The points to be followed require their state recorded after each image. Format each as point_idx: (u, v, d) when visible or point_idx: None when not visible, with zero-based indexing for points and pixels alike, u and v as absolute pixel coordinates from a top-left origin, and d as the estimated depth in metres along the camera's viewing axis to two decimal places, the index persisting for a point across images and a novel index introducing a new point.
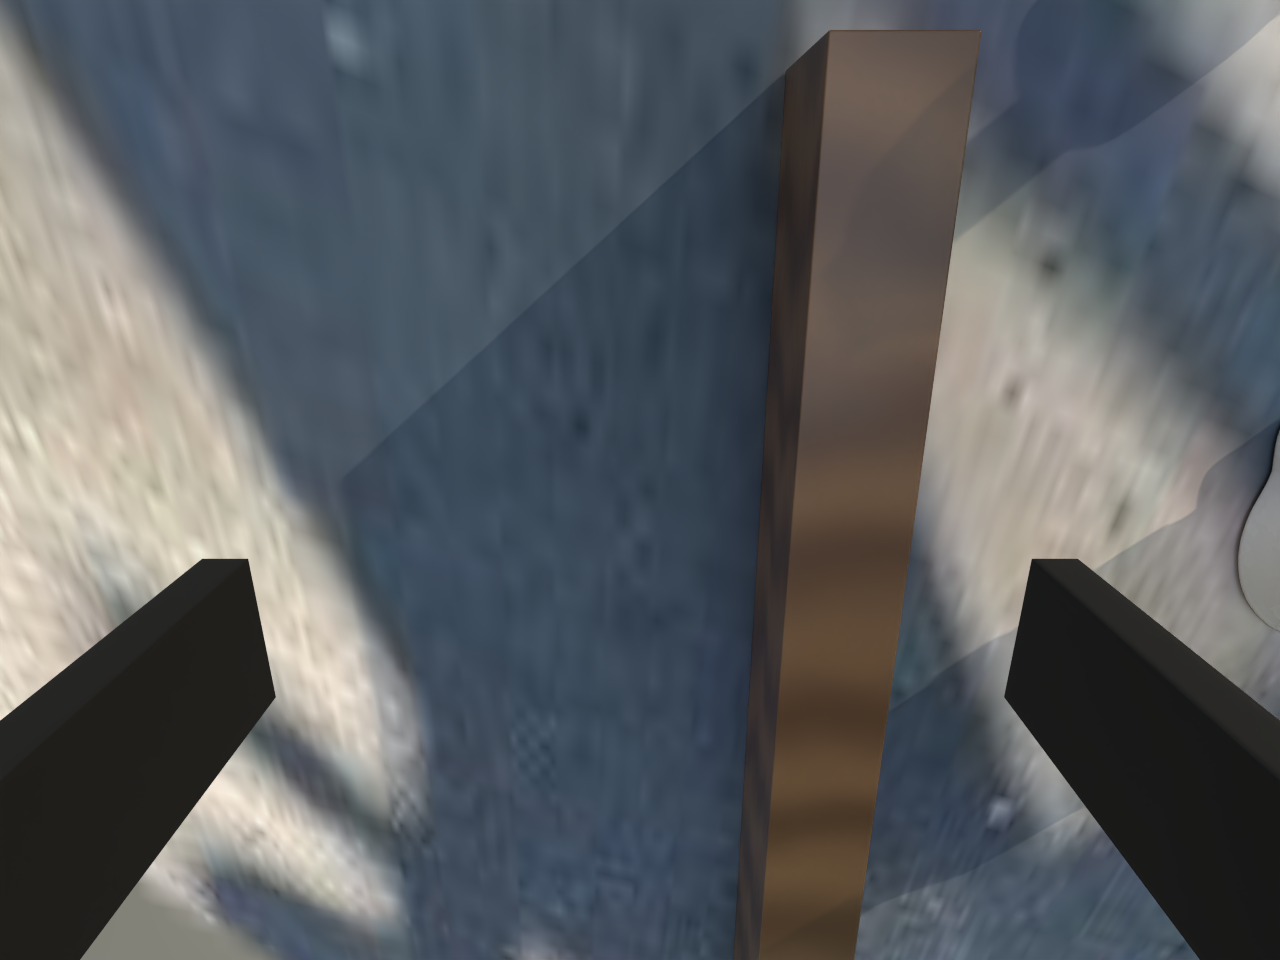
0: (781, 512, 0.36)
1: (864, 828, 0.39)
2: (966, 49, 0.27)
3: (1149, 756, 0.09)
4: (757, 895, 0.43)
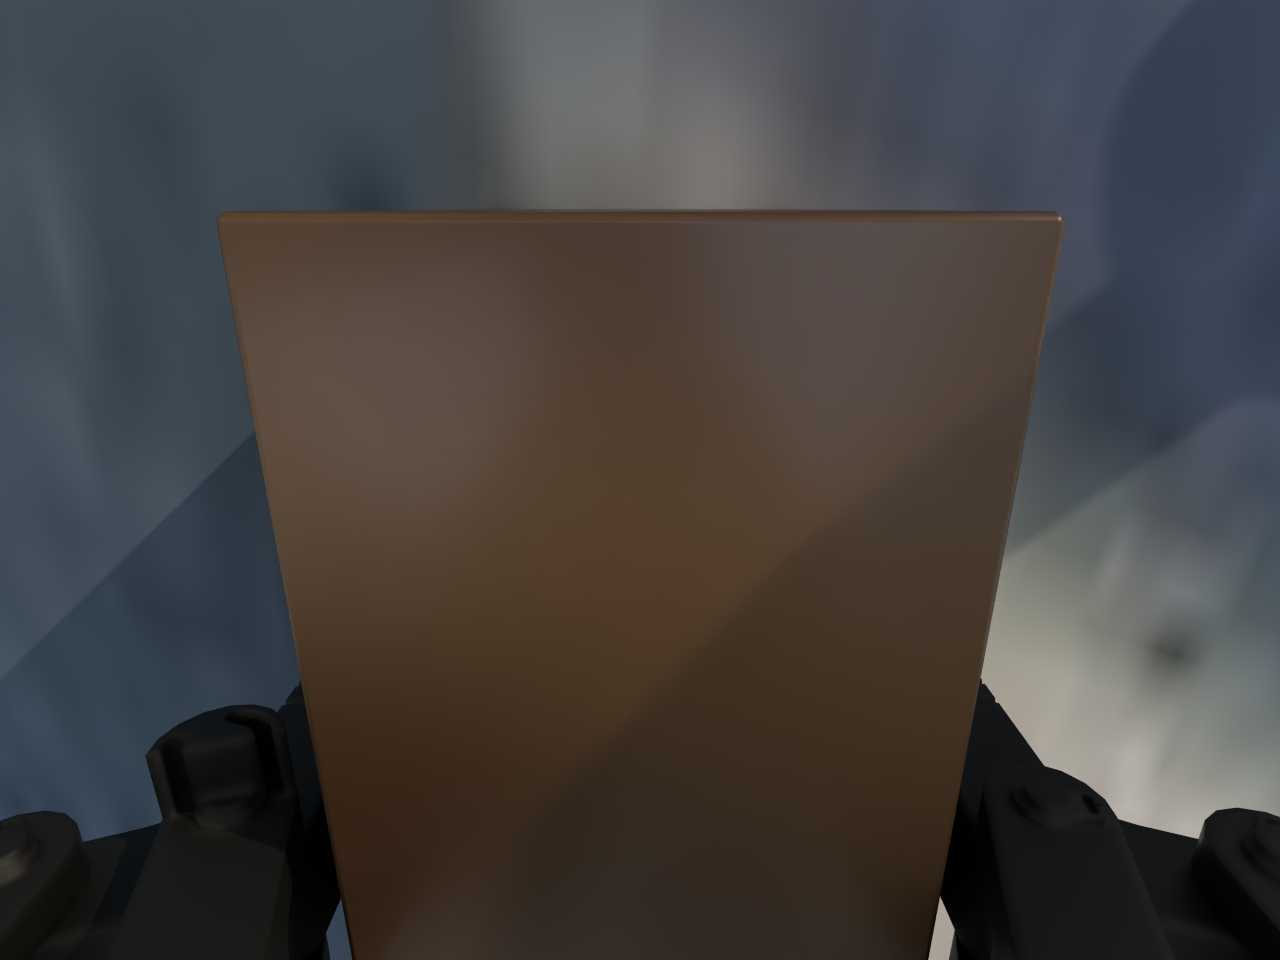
0: None
1: None
2: (982, 311, 0.05)
3: None
4: None
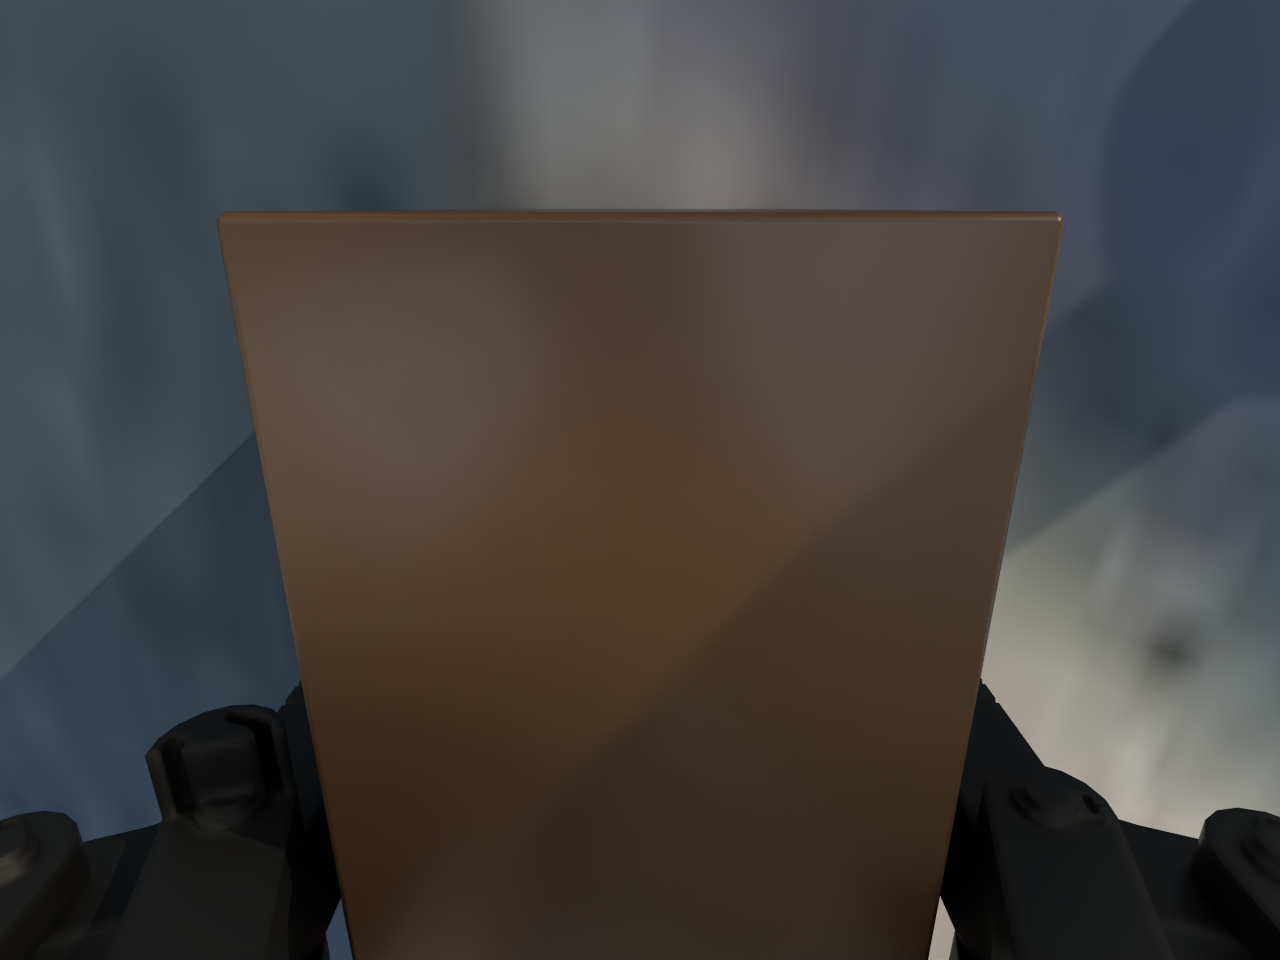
0: None
1: None
2: (983, 311, 0.05)
3: None
4: None
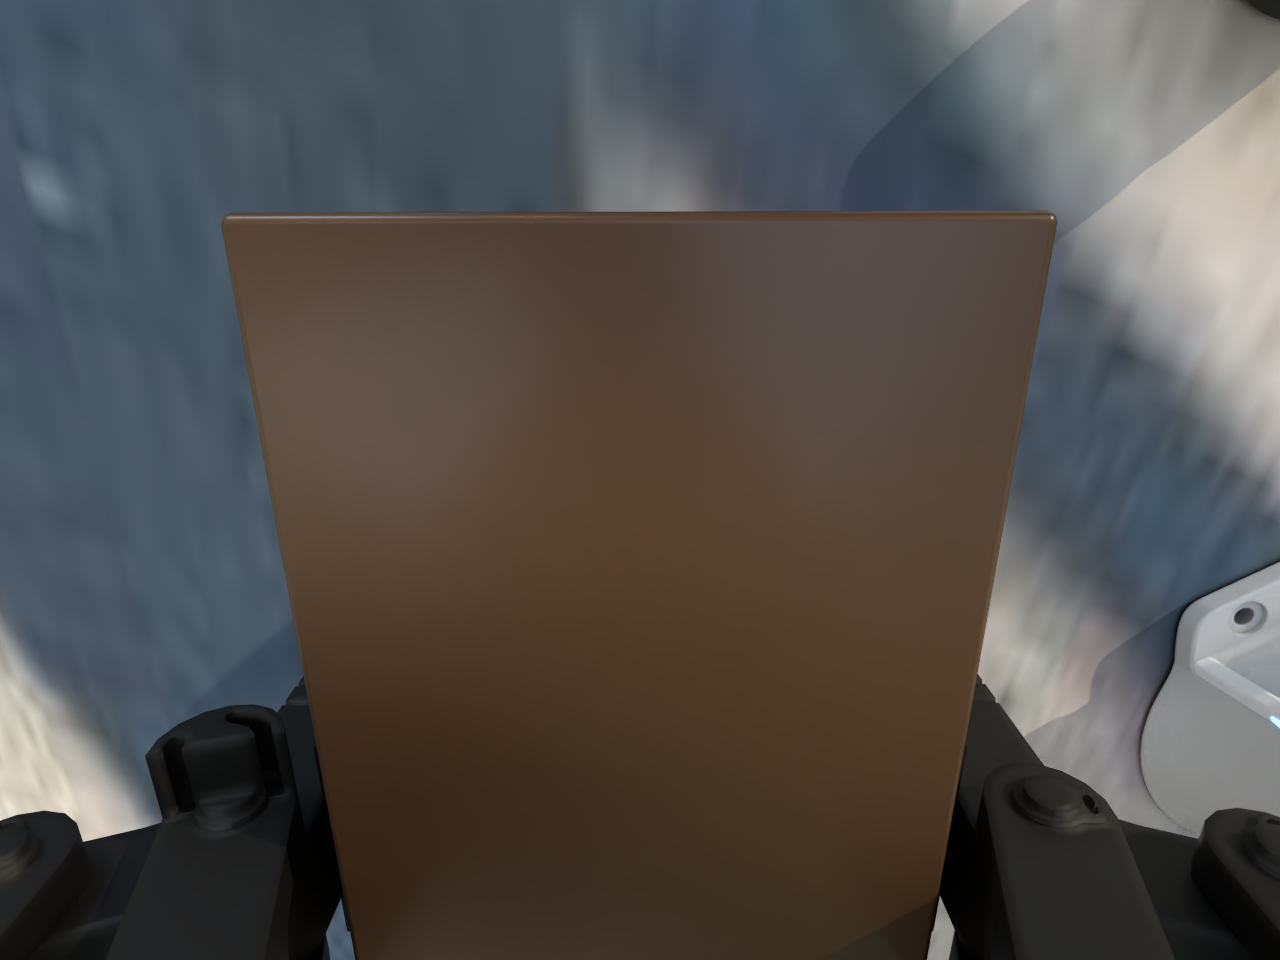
0: None
1: None
2: (977, 309, 0.05)
3: None
4: None
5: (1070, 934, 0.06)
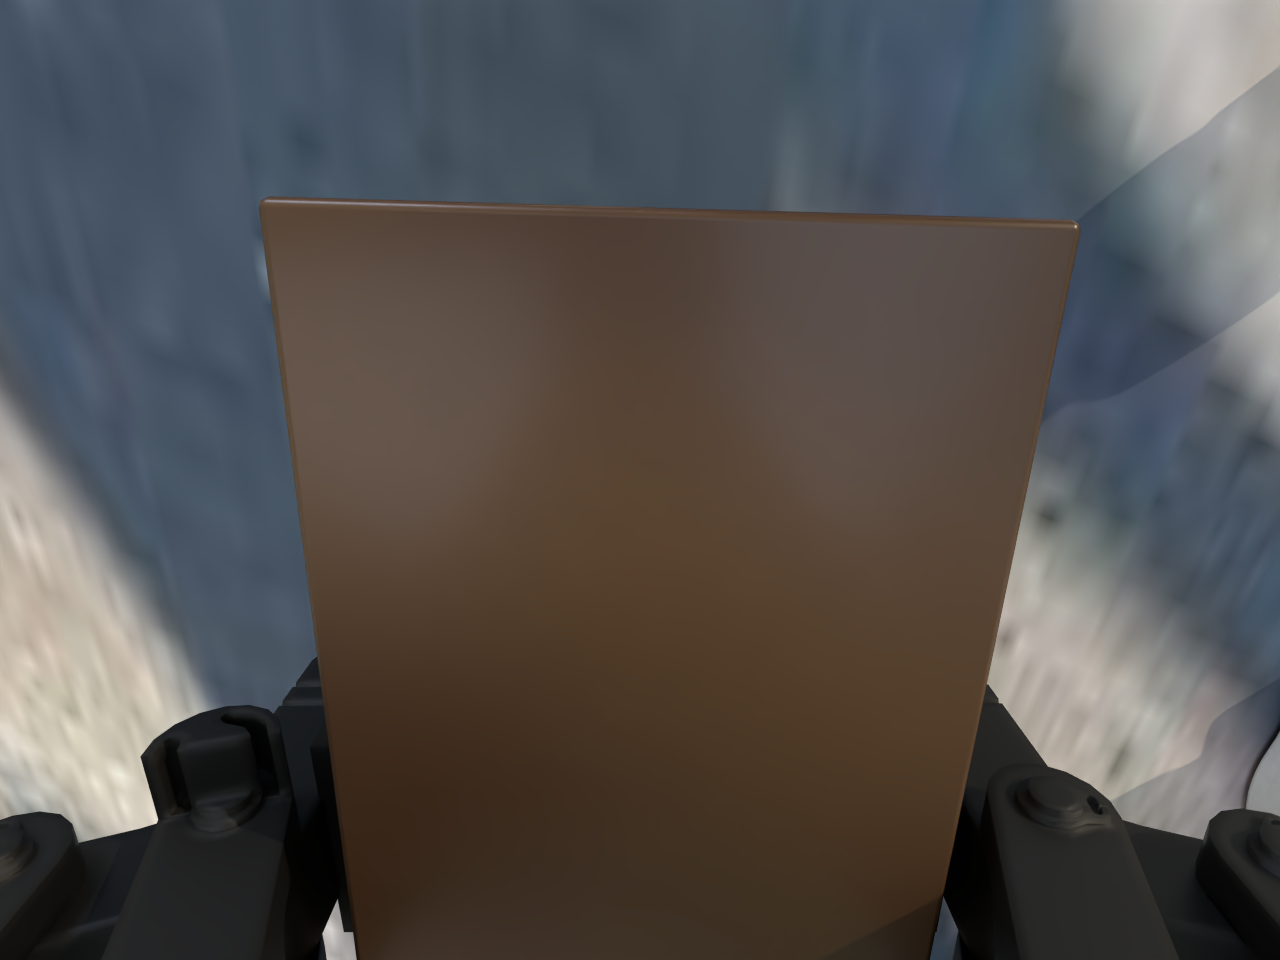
0: None
1: None
2: (1000, 314, 0.05)
3: None
4: None
5: (1074, 935, 0.06)
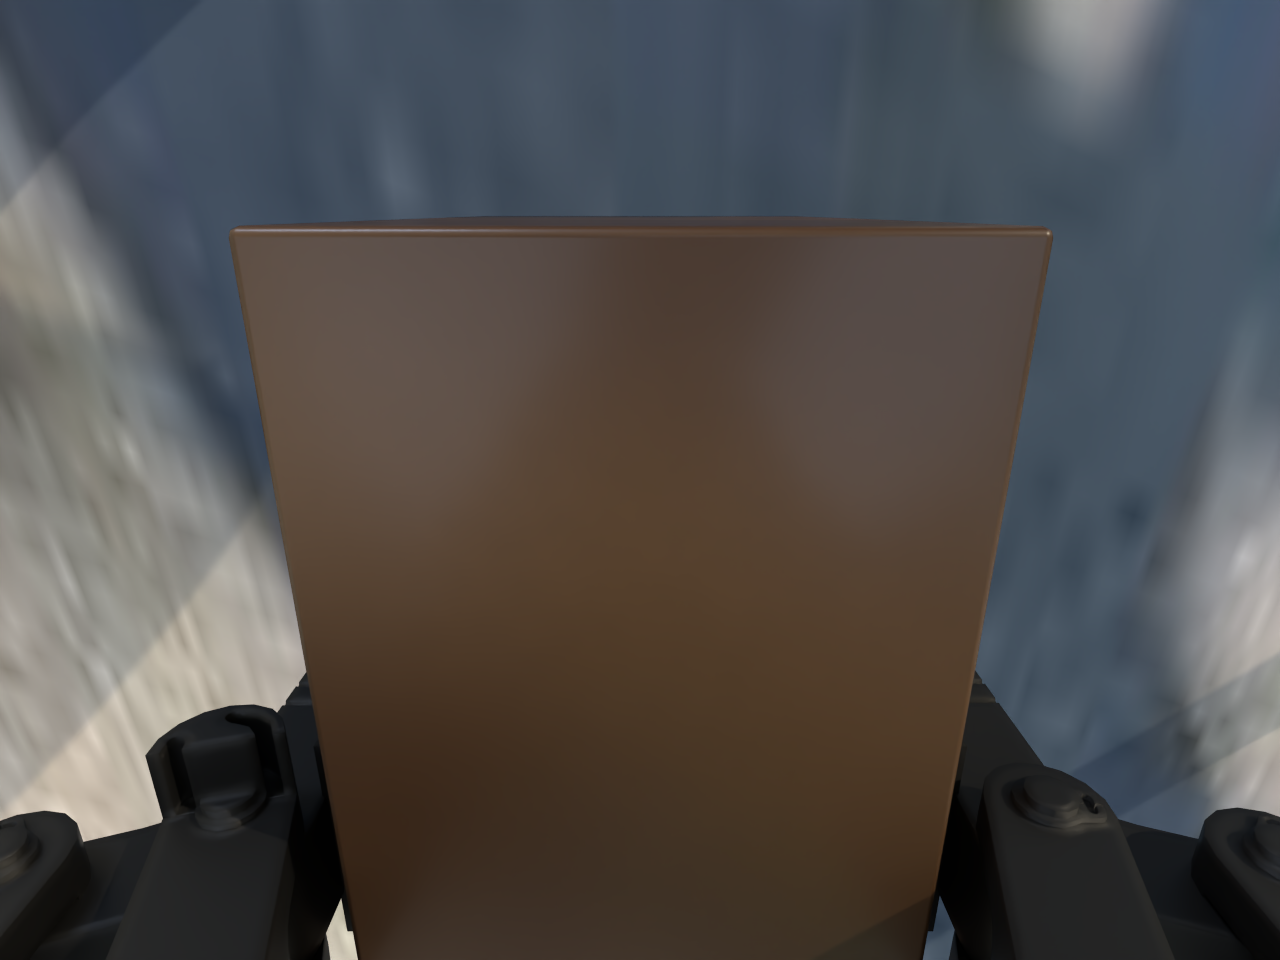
0: None
1: None
2: (974, 323, 0.05)
3: None
4: None
5: (1070, 934, 0.06)
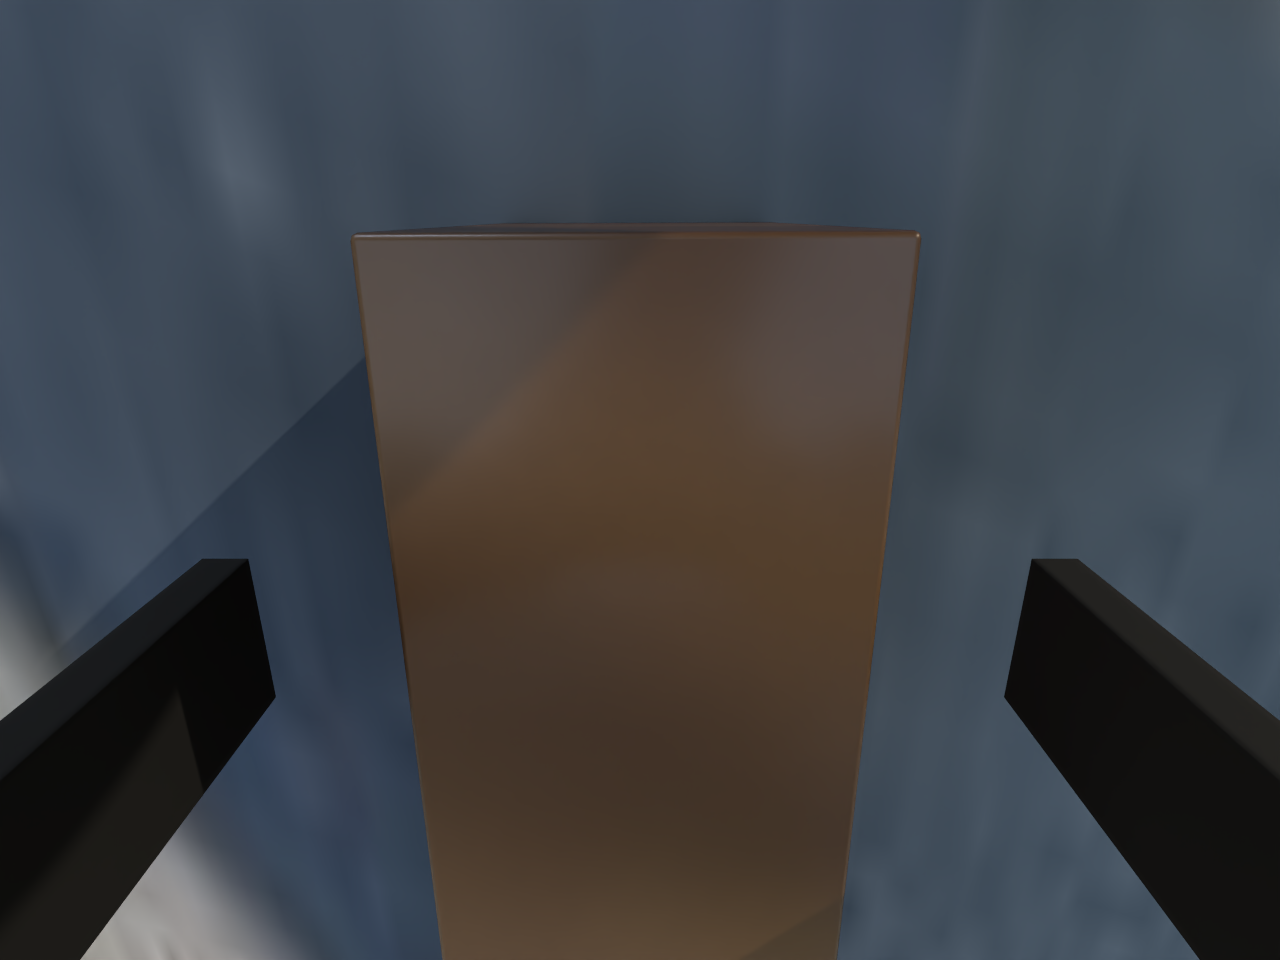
0: None
1: None
2: (869, 299, 0.07)
3: (1149, 756, 0.09)
4: None
5: None
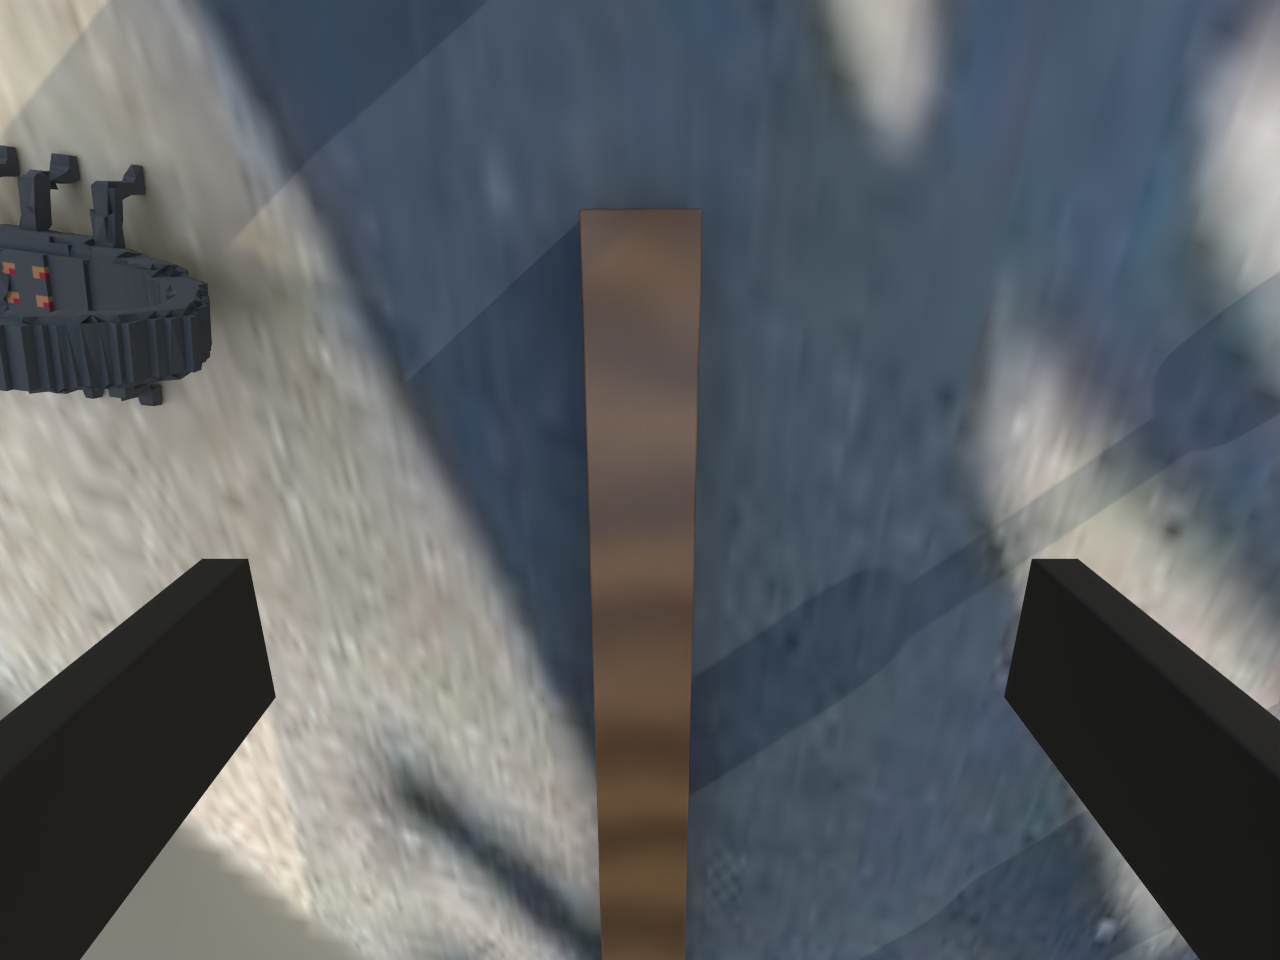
0: None
1: (680, 842, 0.46)
2: (691, 223, 0.33)
3: (1149, 756, 0.09)
4: None
5: None
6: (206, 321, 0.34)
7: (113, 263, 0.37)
